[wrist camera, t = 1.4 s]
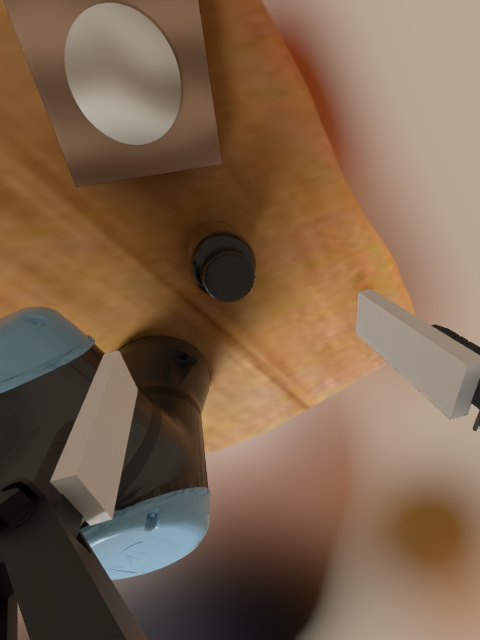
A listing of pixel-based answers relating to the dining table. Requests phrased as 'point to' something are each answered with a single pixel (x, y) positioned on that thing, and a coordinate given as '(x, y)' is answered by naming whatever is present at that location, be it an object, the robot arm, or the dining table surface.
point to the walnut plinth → (121, 84)
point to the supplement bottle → (221, 262)
